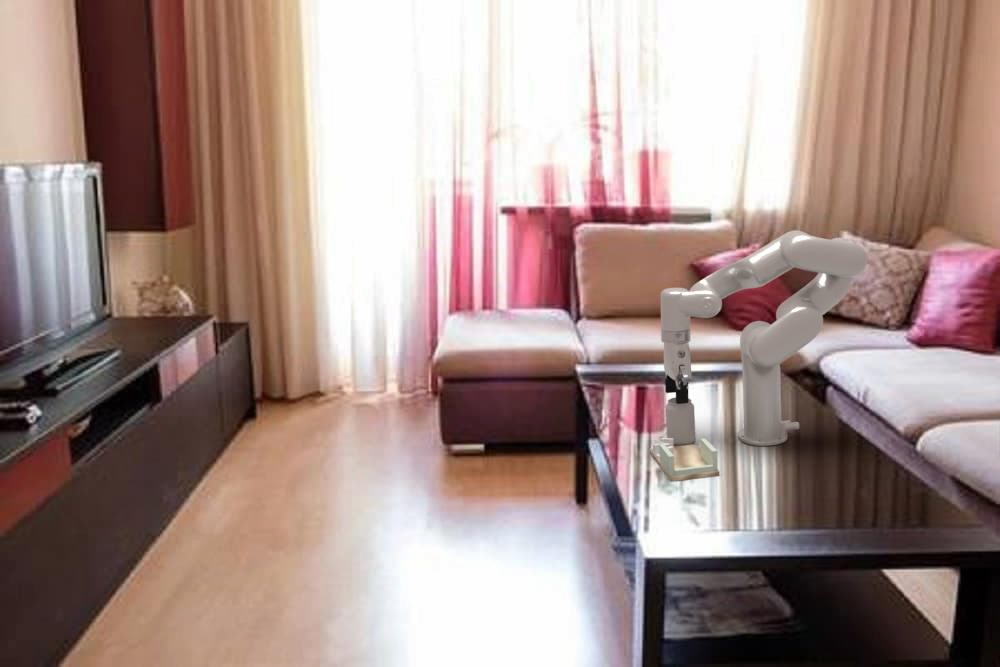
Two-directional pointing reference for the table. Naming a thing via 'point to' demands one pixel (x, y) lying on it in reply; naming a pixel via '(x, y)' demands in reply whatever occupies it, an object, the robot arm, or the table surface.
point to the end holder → (706, 454)
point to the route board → (686, 462)
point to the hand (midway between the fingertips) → (676, 397)
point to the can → (680, 422)
